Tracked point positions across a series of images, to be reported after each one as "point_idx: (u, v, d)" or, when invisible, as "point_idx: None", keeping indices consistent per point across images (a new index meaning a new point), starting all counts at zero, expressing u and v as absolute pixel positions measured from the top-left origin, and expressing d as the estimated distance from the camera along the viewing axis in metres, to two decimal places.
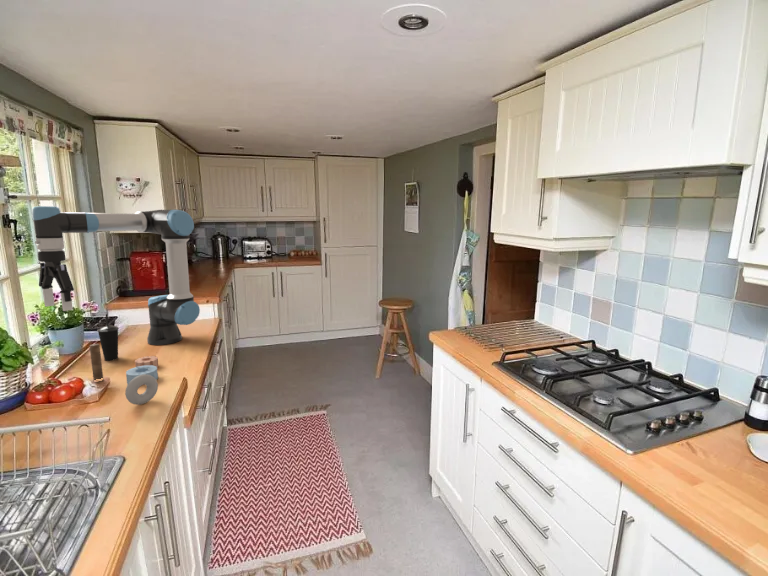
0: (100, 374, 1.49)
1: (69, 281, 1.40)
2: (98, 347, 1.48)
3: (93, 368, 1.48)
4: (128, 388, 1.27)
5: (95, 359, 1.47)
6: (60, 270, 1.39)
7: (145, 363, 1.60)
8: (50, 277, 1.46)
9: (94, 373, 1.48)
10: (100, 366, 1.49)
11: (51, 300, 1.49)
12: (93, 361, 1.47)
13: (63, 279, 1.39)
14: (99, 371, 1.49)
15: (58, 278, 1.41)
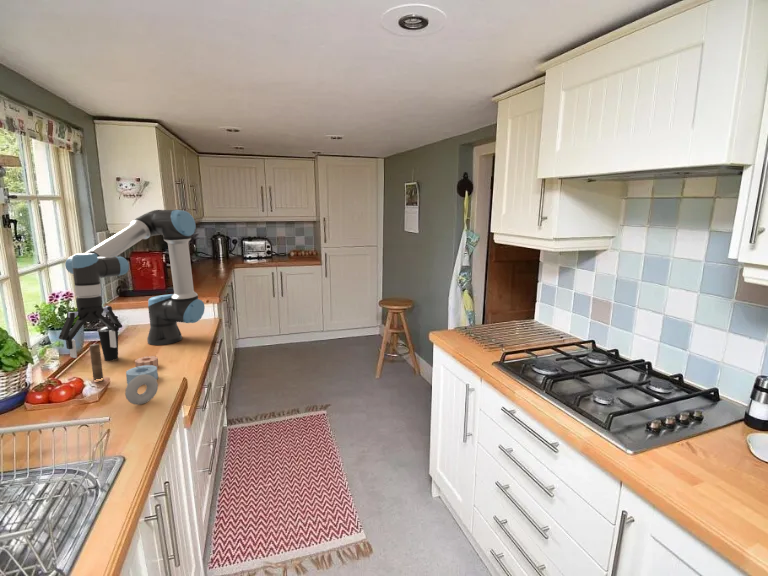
0: (100, 374, 1.49)
1: (65, 330, 1.38)
2: (98, 347, 1.48)
3: (93, 368, 1.48)
4: (128, 388, 1.27)
5: (95, 359, 1.47)
6: (67, 317, 1.40)
7: (145, 363, 1.60)
8: (102, 321, 1.49)
9: (94, 373, 1.48)
10: (100, 366, 1.49)
11: (112, 342, 1.53)
12: (93, 361, 1.47)
13: (63, 327, 1.39)
14: (99, 371, 1.49)
15: (75, 324, 1.42)
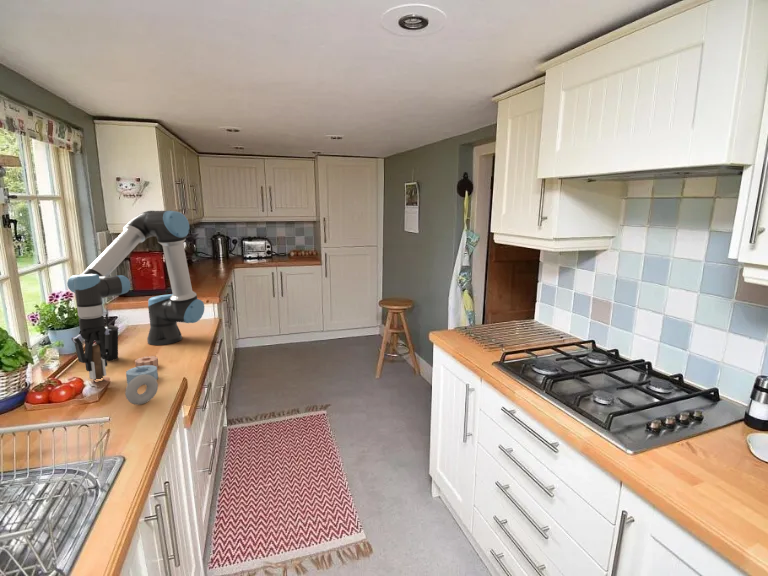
0: (100, 374, 1.49)
1: (80, 354, 1.43)
2: (98, 347, 1.48)
3: None
4: (128, 388, 1.27)
5: (95, 359, 1.47)
6: None
7: (145, 363, 1.60)
8: None
9: None
10: (100, 366, 1.49)
11: (102, 370, 1.51)
12: (93, 361, 1.47)
13: (77, 352, 1.44)
14: (99, 371, 1.49)
15: (85, 347, 1.46)
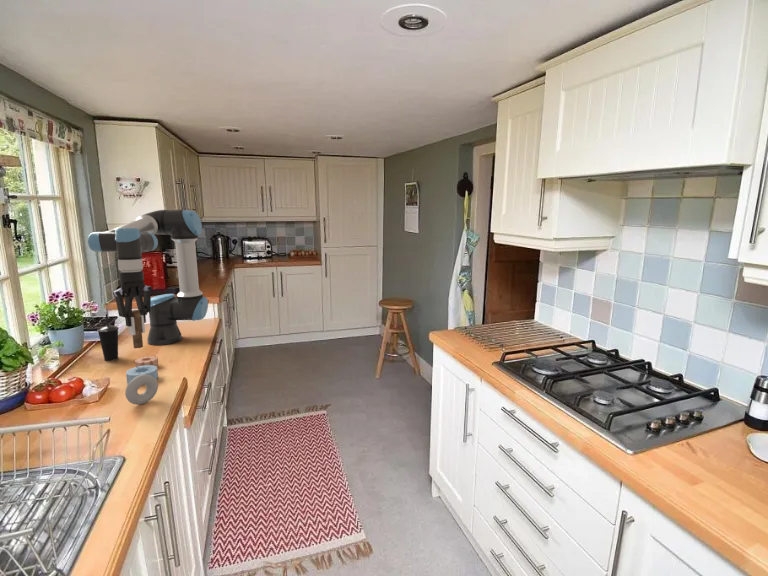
0: (140, 340, 1.48)
1: (120, 308, 1.41)
2: (138, 312, 1.47)
3: None
4: (128, 388, 1.27)
5: (136, 324, 1.46)
6: (115, 296, 1.41)
7: (145, 363, 1.60)
8: (137, 299, 1.47)
9: (134, 339, 1.47)
10: (140, 332, 1.48)
11: (141, 327, 1.49)
12: None
13: (117, 306, 1.42)
14: (139, 337, 1.47)
15: (125, 301, 1.44)
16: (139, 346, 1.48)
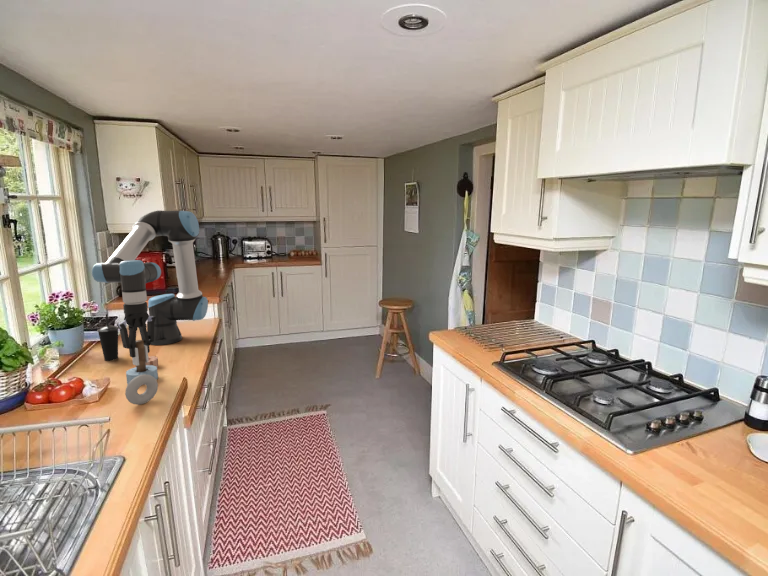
0: (144, 370, 1.50)
1: (124, 340, 1.43)
2: (142, 343, 1.49)
3: None
4: (128, 388, 1.27)
5: (140, 355, 1.48)
6: (119, 328, 1.43)
7: None
8: (141, 330, 1.49)
9: (138, 369, 1.49)
10: (144, 362, 1.50)
11: (145, 357, 1.51)
12: None
13: (121, 337, 1.44)
14: (143, 367, 1.49)
15: (129, 333, 1.46)
16: None
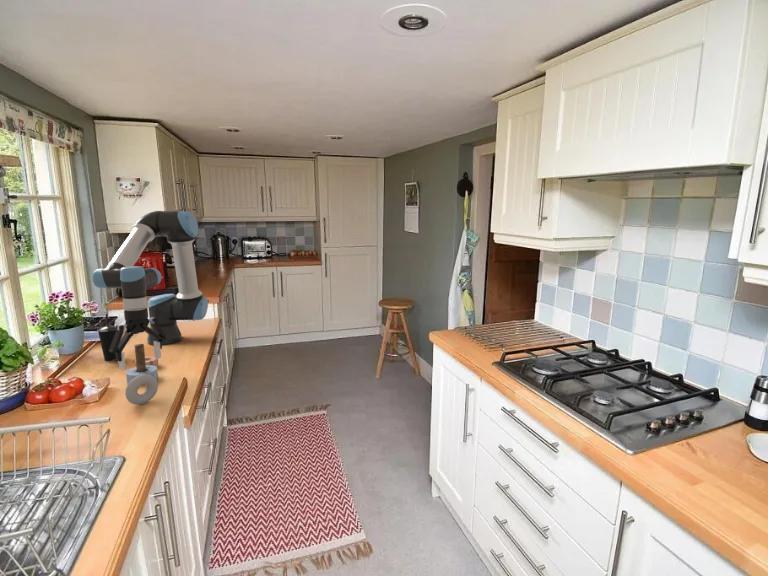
0: None
1: (115, 343, 1.40)
2: (143, 347, 1.49)
3: (138, 368, 1.49)
4: (128, 388, 1.27)
5: (140, 359, 1.48)
6: (116, 330, 1.42)
7: None
8: (148, 332, 1.51)
9: None
10: (144, 366, 1.50)
11: (157, 353, 1.55)
12: (138, 361, 1.48)
13: (113, 340, 1.41)
14: (143, 371, 1.50)
15: (123, 336, 1.44)
16: None
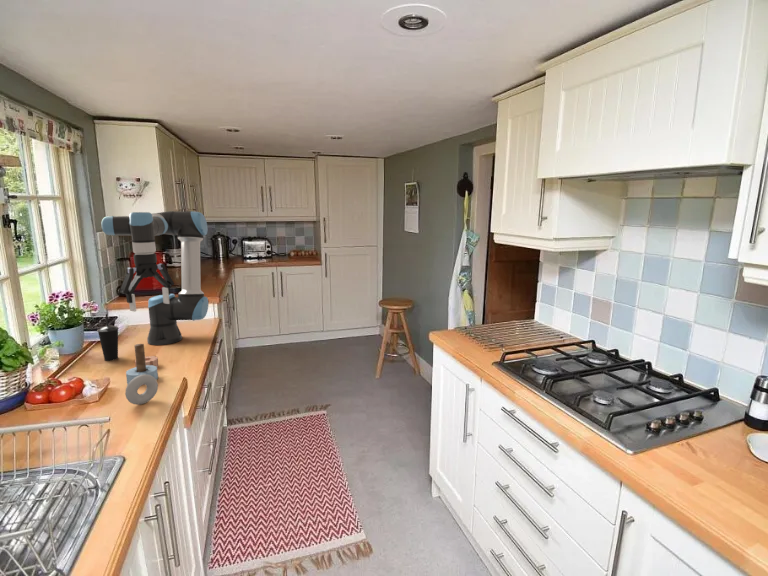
0: None
1: (125, 284, 1.46)
2: (143, 347, 1.49)
3: (138, 368, 1.49)
4: (128, 388, 1.27)
5: (140, 359, 1.48)
6: (127, 273, 1.47)
7: None
8: (156, 278, 1.57)
9: None
10: (144, 366, 1.50)
11: (166, 298, 1.61)
12: (138, 361, 1.48)
13: (123, 282, 1.47)
14: (143, 371, 1.50)
15: (133, 280, 1.50)
16: None
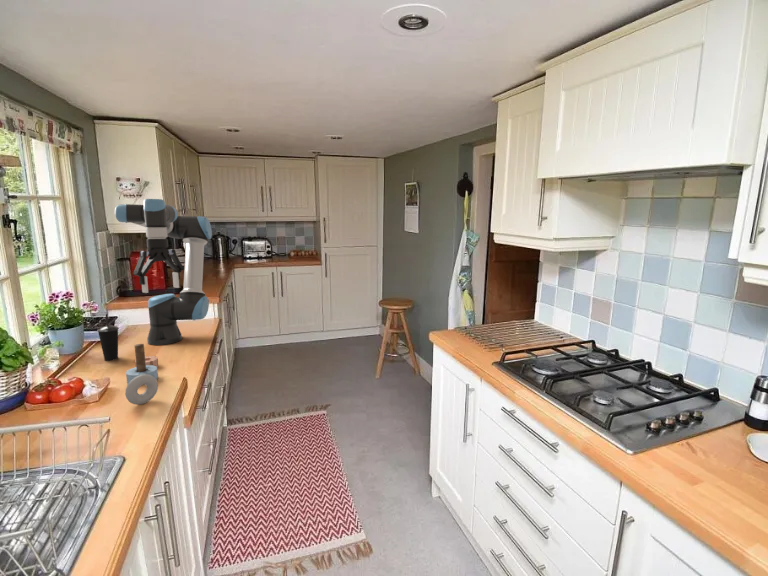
0: None
1: (139, 266, 1.54)
2: (143, 347, 1.49)
3: (138, 368, 1.49)
4: (128, 388, 1.27)
5: (140, 359, 1.48)
6: (140, 256, 1.55)
7: None
8: (167, 262, 1.65)
9: None
10: (144, 366, 1.50)
11: (176, 283, 1.69)
12: (138, 361, 1.48)
13: (137, 264, 1.54)
14: (143, 371, 1.50)
15: (146, 263, 1.58)
16: None
